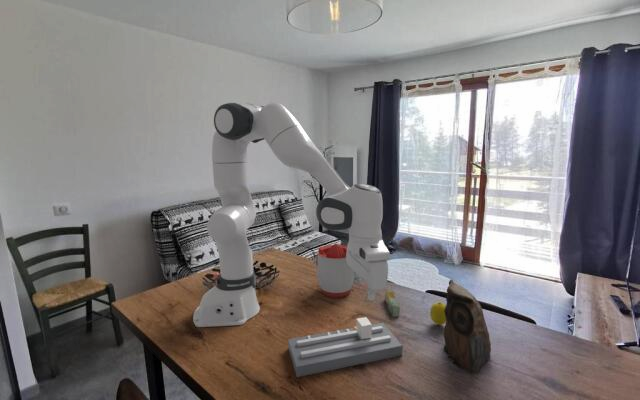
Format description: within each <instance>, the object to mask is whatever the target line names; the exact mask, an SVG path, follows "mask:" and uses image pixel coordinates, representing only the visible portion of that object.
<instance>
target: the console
mask: <svg viewBox="0 0 640 400" xmlns="http://www.w3.org/2000/svg"><path fill="white" fill-rule="evenodd" d="M287 342H288V343H287V344H288V346H287V347H288V351H289V355H290V358H291V363H292V365H293V370H294V372H295V376H296V378H300V377H305V376H309V375H315V374H319V373H324V372H328V371H333V370H338V369H343V368H347V367H351V366H352V367H353V366H357V365H362V364H366V363H371V362H376V361H381V360H386V359H390V358H396V357H400V356H403V345H402V343H401V342H400V341H399V340H398V339H397V338H396V336H395V335H394V334H393V333H392V331H390V329H389V328H388V327H387V326H386V325H385V323H384V322H380V323H374V324H372V337H371V339H366V340H361V341H360V339H359V338H358V336H357V331H356V325H354V326H353V327H351V328H346V329H340V330H338V329H337V330H334V331H327V332H322V333H317V334H309V335H306V336H300V337H293V338H288V339H287Z"/></svg>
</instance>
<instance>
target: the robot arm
mask: <svg viewBox="0 0 640 400" xmlns="http://www.w3.org/2000/svg"><path fill="white" fill-rule="evenodd" d="M213 125H214V129H215V132H214V133H213V138H212V146H211V147H212V148H211V158H212V159H211V160H212V174H213V175H212V176H213V185H214V189H215V190H216V191H217V193H218V196H219V199H220V202H221V207H220V208H219V209H217V210H215V211H214V212H213V214H212V215H211V216H210V217H209V219H208V220H207V225H206V231H207V233H208V235H209V236H210V238H211V239H212V240H214V242H215V245H216V249H217V252H218V258H219V268H220V270H219V271H220V272H215V273H214V274H213V279H214V286H213V287H212V288H211V289H208V290H207V292H205V293H204V294H203V296H202V298H201V299H200V303H199V306H197V308H196V309H195V310H194V312H193V316H192V322H194V323H193V325H194V324H195V325H194V326H195V327H197V328H206V327H210V328H211V327H225V326H226V327H227V326H241V325H244V324H245V323H246V322H247V321H248V320H250V319H251V318H254V317H255V316H257V314H258V313H259V312H260V310H261V307H260V305H259V302H258V298H257V293H256V274H255V270H254V260H253V250H252V248H251V247H250V244H249V240H248V236H247V232H248V229H249V228H251V227H252V226H253V224H254V222H255V221H256V218H257V210H256V209H257V208H256V207H255V206H254V202H253V199H252V197H253V196H252V193H251V189H250V184H249V183H250V182H249V169H248V166H249V165H248V157H247V156H248V154H247V149H248V146H249V144H250V143H251V142H252V143H254V144H257V143H259V142H261V141H264V140H265V142H266V143H267V145H268V146H269V148H270V149H271V151H272V153H273V154H274V156H276V157H275V158H277V160H279V161H280V162H281V163H282V164H283V165H285V166H287V167H289V168H293V169H296V170H299V171H303V172H306V173H308V174H309V175H311V176H313V177H314V178H315V179H316V180H317V181H318V183H319V184H320V186H321V187H322V188H323V189H324V190H325V192H326V193H327V194H328V196H325V197H324V198H322V199H321V200H319V202H318V203H317V205H316V208H315V209H316V210H315V214H316V216H315V217H316V219H317V221H318V223H319V224H320V226H321V227H323V228H324V229H326V230H329V231H341V230H348V242H347V244H346V246H347V252H346V262H347V264H348V265H349V266H350V268H351V269H352V274H353V278H354V280H353V285H355V286H360V285H361V284H362V281H363V283H364V284H366V286H367V289H368V291H367V292H366V296H365V297H366V299H367V300H368V301H375V299H376V294H377V292H378V291H383V290H385V289H386V288H387V285H388V277H389V276H388V275H389V263H388V260H390V258H391V255H390V253H391V252H390V251H389V249H388V247H387V246H386V245H385V242H384V240H383V233H382V231H383V230H382V228H381V227H382V226H381V225H382V221H383V218H384V217H383V215H384V213H383V212H384V209H383V208H384V206H383V205H384V204H383V196H382V192H381V189H379V188H377V187H376V186H373V185H371V184H366V183H365V184H363V183H355V184H353V185H352V186H351V187H350V185H349V184H347V183H346V181H344V179H343V178H342V176H341V175H340V174H339V173H338V172H337V170H336V169H335V168H334V166H333V165H332V164H331V163H330V162H329V160H328V159H327V158H326V157H325V155H323V154H322V152H321V151H320V149H319V148H318V147H317V145H316V144H315V143H314V142H313V141H312V139H311V138H310V136H309V135H308V134H307V132H306V131H305V129H304V128H303V126H302V125H301V123H300V122H299V121H298V120H297V118H296V117H295V116H294V115H293V113H292V112H290V110H288V108H286V106H284V105H283V104H281V103H280V102H271V103H268V104H266V105H264V106H263V105H256V104H254V103H237V102H228V103H223V104H221V105H220V106H218V107H217V108H216V110H215V112H214V115H213Z"/></svg>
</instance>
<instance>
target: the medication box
mask: <svg viewBox="0 0 640 400" xmlns="http://www.w3.org/2000/svg"><path fill="white" fill-rule="evenodd" d="M393 292H394V291H392V290H385V294H384V302H385V304H386V306H387V308H388V311H389V313H390V315H391V318H392V317H394V318H395V317H396V318H397V317H400V311H401V305H400V304H399V302H398V300H397V298H396V296H395V295H394V293H393Z"/></svg>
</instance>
